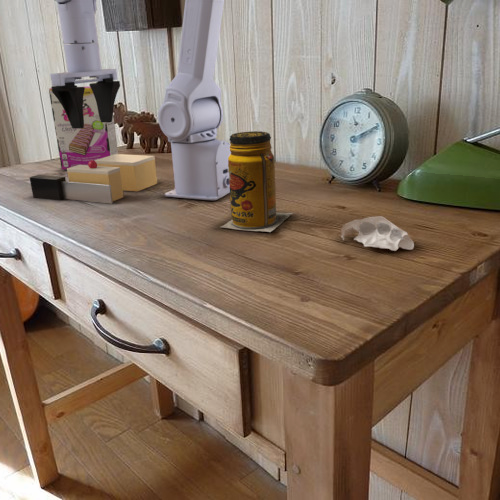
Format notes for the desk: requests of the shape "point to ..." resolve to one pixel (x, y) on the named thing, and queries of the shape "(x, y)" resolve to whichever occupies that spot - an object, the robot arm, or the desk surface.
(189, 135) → the robot arm
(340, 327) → the desk surface
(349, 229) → the white irregular chunk
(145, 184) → the cake
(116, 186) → the cake slice
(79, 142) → the candy bar box
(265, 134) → the condiment
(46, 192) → the knife
